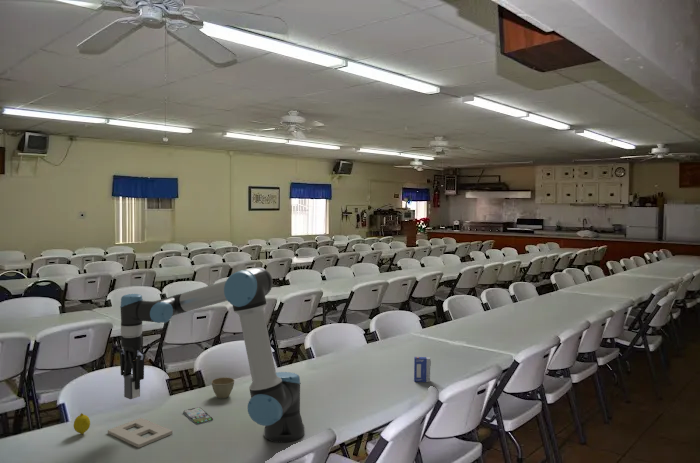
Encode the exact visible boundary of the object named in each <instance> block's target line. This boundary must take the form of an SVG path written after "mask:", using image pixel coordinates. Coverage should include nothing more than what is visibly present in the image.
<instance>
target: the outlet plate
mask: <svg viewBox="0 0 700 463" xmlns="http://www.w3.org/2000/svg"><path fill="white" fill-rule="evenodd" d="M133 427H137V429H135V430H132V431H130V430H129V429H132V428H133ZM148 433H150V434H152V435H149V436H147V437H143V435H145V434H148ZM107 434H109V435H111V436H113V437H115V438H117V439H119V440H121V441H124V442H125V443H127V444H130V445H131V446H134V447H135V448H143V447H144V446H146V445H149V444H151V443H154V442H156V441H159V440H161V439H164V438H166V437H169V436H170V435H173V430H172V429H169V428H168V427H164V426H162V425H159V424H158V423H154V422H152V421H151V420H148V419H145V418H143V417H139V418H137V419H134V420H131V421H128V422H126V423H123V424H120V425H118V426H114V427H112V428H109V429H107Z"/></svg>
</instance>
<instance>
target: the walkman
mask: <svg viewBox="0 0 700 463" xmlns="http://www.w3.org/2000/svg"><path fill="white" fill-rule="evenodd" d="M431 364H432V361H431V357H430V356H414V361H413V369H414V370H413V381H414V383H416V382H417V383H419V382H420V383H430V382H431Z"/></svg>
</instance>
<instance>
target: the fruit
mask: <svg viewBox="0 0 700 463" xmlns="http://www.w3.org/2000/svg"><path fill="white" fill-rule="evenodd" d="M90 426H91V419H90V418H89V416H88V415H86V414H84V413H82V412H81V413H80V415H78V416H77V417H75V419H74V422H73V429H74V430H75V432H77V433H78V434H80V435H84V434H85V433H86V432H87V431H88V430H89V428H90Z"/></svg>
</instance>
